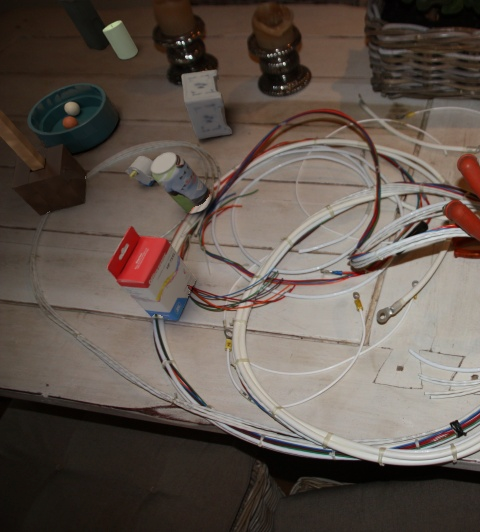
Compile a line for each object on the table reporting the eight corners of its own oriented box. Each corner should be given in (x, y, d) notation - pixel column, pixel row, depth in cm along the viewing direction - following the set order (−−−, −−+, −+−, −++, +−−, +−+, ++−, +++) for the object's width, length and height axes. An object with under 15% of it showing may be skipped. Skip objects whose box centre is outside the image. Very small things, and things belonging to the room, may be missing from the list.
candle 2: (114, 56, 135) (95, 25, 128) (129, 45, 137) (112, 14, 130) (126, 62, 133) (108, 31, 126) (142, 50, 135) (125, 20, 128)
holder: (39, 215, 106) (11, 188, 99) (43, 184, 111) (17, 156, 104) (84, 203, 107) (59, 174, 100) (86, 172, 112) (63, 143, 105)
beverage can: (216, 212, 102) (189, 166, 92) (178, 223, 101) (146, 178, 91) (213, 188, 105) (187, 142, 95) (176, 199, 105) (146, 154, 95)
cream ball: (63, 113, 121) (65, 115, 119) (63, 99, 120) (65, 101, 118) (78, 115, 123) (81, 117, 121) (78, 101, 122) (81, 103, 120)
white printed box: (238, 133, 114) (219, 92, 105) (199, 144, 113) (177, 104, 104) (232, 105, 119) (214, 64, 111) (195, 115, 118) (174, 75, 110)
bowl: (42, 164, 114) (23, 143, 109) (48, 116, 124) (31, 94, 119) (119, 143, 116) (104, 121, 111) (120, 97, 125) (106, 75, 120)
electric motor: (127, 187, 108) (113, 169, 104) (141, 170, 110) (129, 152, 106) (154, 194, 106) (142, 176, 102) (169, 177, 108) (157, 159, 104)
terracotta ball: (59, 129, 117) (61, 118, 115) (64, 122, 119) (67, 111, 117) (74, 135, 118) (77, 124, 116) (79, 128, 120) (82, 117, 118)
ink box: (178, 322, 89) (133, 272, 77) (151, 318, 90) (102, 269, 78) (198, 278, 93) (158, 225, 81) (172, 275, 94) (129, 223, 82)
